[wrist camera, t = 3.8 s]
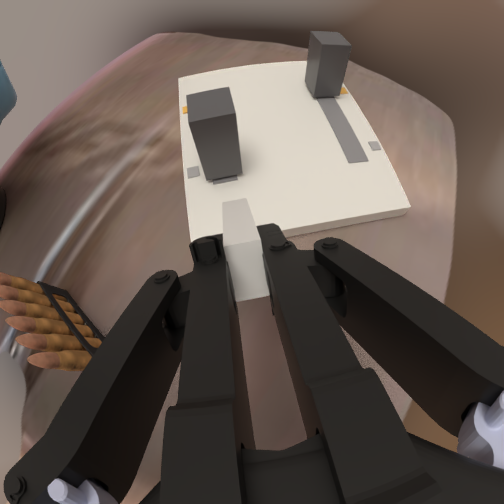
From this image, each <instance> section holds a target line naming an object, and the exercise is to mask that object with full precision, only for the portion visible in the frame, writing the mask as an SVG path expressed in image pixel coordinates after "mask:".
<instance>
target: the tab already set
mask: <svg viewBox="0 0 504 504" xmlns="http://www.w3.org/2000/svg"><path fill="white" fill-rule="evenodd" d="M350 51H351V44H350V43H349V42H348V41H347V40H346V39H345V38H344V37H343V36H342V35H341V34H340V33H339V32H322V31H311V33H310V41H309V50H308V58H307V66H306V74H305V83H306V85H307V86H308V88H309V90H310V92H311V93H312V95H313V97H325V96H340V92H341V88H342V84H343V80H344V76H345V72H346V68H347V64H348V59H349V55H350Z"/></svg>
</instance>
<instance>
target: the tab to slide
mask: <svg viewBox="0 0 504 504" xmlns="http://www.w3.org/2000/svg"><path fill="white" fill-rule="evenodd" d="M186 100H187V114H188V124H189V127H190V130H191V133H192V137H193V140H194V143H195V146H196V149H197V153H198V156H199V159H200V162H201V165H202V168H203V171H204V175H205V178H206V181H208V180H212V179H217V178H222V177H227V176H232V175H238V174H243V172H242V163H241V154H240V145H239V136H238V127H237V118H236V111H235V108H234V104H233V100H232V96H231V92H230V88H229V87H224V88H218V89H213V90H208V91H203V92H198V93H194V94H189V95H186Z"/></svg>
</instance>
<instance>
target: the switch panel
mask: <svg viewBox="0 0 504 504" xmlns="http://www.w3.org/2000/svg"><path fill="white" fill-rule="evenodd" d="M306 66H307V61H292V62H277V63H265V64H256V65H248V66H240V67H233V68H227V69H221V70H215V71H210V72H205V73H200V74H195V75H191V76H186V77H182V78H179V107H180V127H181V143H182V157H183V170H184V182H185V192H186V202H187V212H188V221H189V230H190V238H191V242H193V241H194V240H196V239H198V238H201V237H204V236H211V235H216V234H222V233H223V219H222V202H227V201H232V200H237V199H242V198H246V199H247V201H248V204H249V207H250V210H251V213H252V216H253V218H254V221H255V224H256V226H259V225H264V224H270V223H274V224H276V225H278V226H279V227H280V229H281V231H282V232H283V234H284V236H285V238H286V237H291V236H296V235H302V234H307V233H312V232H317V231H322V230H327V229H333V228H338V227H343V226H348V225H354V224H359V223H364V222H370V221H375V220H380V219H386V218H391V217H396V216H402V215H404V214H405V213H406V212H407V210H408V209H409V208H410V207H411V206H410V204H409V202H408V199H407V197H406V195H405V192H404V190H403V188H402V186H401V184H400V181H399V179H398V177H397V175H396V173H395V171H394V169H393V167H392V165H391V163H390V161H389V159H388V157H387V155H386V153H385V151H384V149H383V147H382V146H381V144H380V142H379V140H378V138H377V137H376V135H375V133H374V131H373V130H372V128H371V126H370V124H369V123H368V121H367V119H366V118H365V116H364V114H363V113H362V111H361V110H360V108H359V106H358V105H357V103H356V102H355V100H354V99H353V97H352V96H351V94H350V93H349V91H348V90H347V88H346V87H345V85H344V84H342V88H341V92H340V96H325V97H313V95H312V93H311V92H310V90H309V88H308V86H307V85H306V83H305V74H306ZM224 87H229V88H230V92H231V96H232V100H233V104H234V108H235V111H236V118H237V127H238V136H239V145H240V154H241V163H242V172H243V174H238V175H232V176H227V177H222V178H217V179H212V180H208V181H206V178H205V175H204V171H203V168H202V165H201V162H200V159H199V156H198V153H197V149H196V146H195V143H194V140H193V137H192V133H191V130H190V127H189V124H188V114H187V100H186V95H189V94H194V93H198V92H203V91H208V90H213V89H218V88H224Z"/></svg>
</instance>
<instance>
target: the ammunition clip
mask: <svg viewBox="0 0 504 504" xmlns="http://www.w3.org/2000/svg"><path fill="white" fill-rule="evenodd" d="M0 297H1V298H3V299H5V300H1V301H0V307H1V308H2V309H3V310H5V311H6V312H8V313H10V314H12V315H15V316H12V317H8V318H6V320H5V321H6V322H7V323H8V324H9V325H10V326H12V327H13V328H15V329H17V330H20V331H23V332H28V333H31V334H23V335H20V336H18V337H16V338H15V340H16V341H17V342H18V343H19V344H21V345H23V346H25V347H27V348H31V349H35V350H41V351H47V352H41V353H37V354H34V355H31V356H29V357H28V358H27V361H28V362H29V363H31V364H33V365H35V366H38V367H42V368H47V369H62V370H66V371H82V370H84V369H85V367H86V366H87V364H88V363H89V361H90V360H91V358H92V356H93V355H94V354H95V352H96V351H97V349H98V348H99V346H100V345H101V343H102V342H103V340H104V339H105V337H104V336H103V335H102V334H101V333H100V332H99V331H98V329H97V328H96V327H95V326H94V325H93V324H92V322H91V321H90V320H89V319H88V318H87V316H86V315H85V314H84V313H83V311H82V310H81V309H80V308H79V306H78V305H77V304H76V303H75V301H74V300H73V299H72V297H71V296H70V295H69V293H68V292H67V291H66V290H63V289H60V288H57V287H54V286H51V285H48V284H46V283H43V282H40V281H38V282H37V283H34V282H32V281H29V280H26V279H24V278H20V277H14V276H11V275H7V274H5V273H1V272H0Z"/></svg>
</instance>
